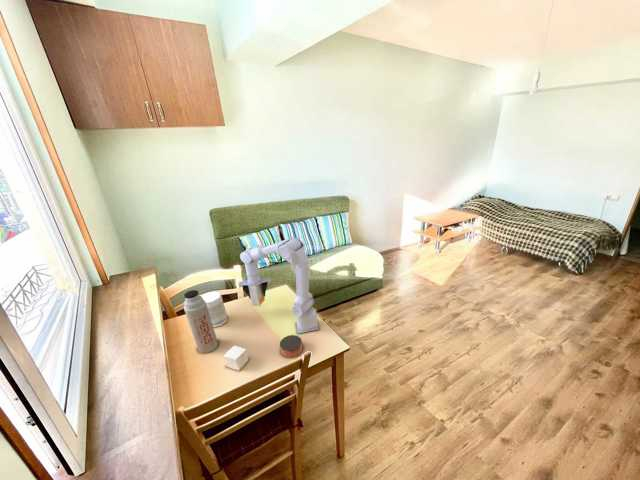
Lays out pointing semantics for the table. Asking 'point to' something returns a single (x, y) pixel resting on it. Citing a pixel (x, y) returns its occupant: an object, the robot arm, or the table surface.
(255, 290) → the cosmetic box
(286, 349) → the terracotta tin
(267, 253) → the robot arm
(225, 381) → the table surface
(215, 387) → the table surface
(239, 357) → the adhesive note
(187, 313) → the thermos bottle
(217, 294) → the supplement tub
